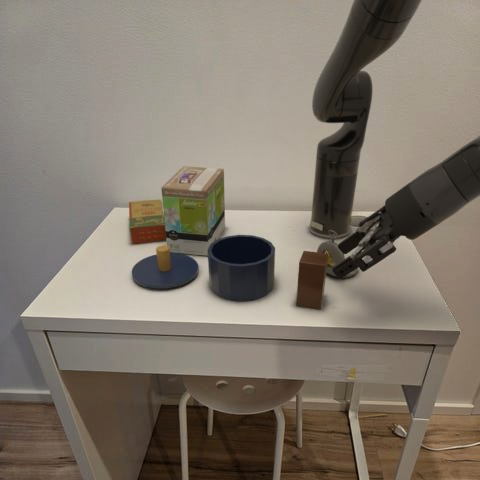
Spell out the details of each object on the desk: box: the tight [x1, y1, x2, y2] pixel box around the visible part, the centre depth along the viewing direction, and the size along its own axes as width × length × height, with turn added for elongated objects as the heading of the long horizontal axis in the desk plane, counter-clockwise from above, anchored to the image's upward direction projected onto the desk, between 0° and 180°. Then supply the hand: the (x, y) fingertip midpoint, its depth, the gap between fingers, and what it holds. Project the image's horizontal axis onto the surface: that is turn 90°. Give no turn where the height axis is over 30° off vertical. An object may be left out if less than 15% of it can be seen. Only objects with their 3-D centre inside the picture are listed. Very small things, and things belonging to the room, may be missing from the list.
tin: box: [207, 234, 276, 302], centre depth 83 cm, size 12×12×8 cm
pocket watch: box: [316, 230, 359, 279], centre depth 85 cm, size 8×8×10 cm
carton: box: [128, 199, 167, 245], centre depth 105 cm, size 8×16×4 cm, turn 12°
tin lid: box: [131, 244, 200, 289], centre depth 87 cm, size 13×13×6 cm
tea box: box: [160, 166, 226, 257], centre depth 97 cm, size 15×10×15 cm, turn 168°
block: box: [295, 250, 329, 310], centre depth 77 cm, size 4×4×9 cm
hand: (338, 261), depth 74 cm, fingers open, 8 cm apart
